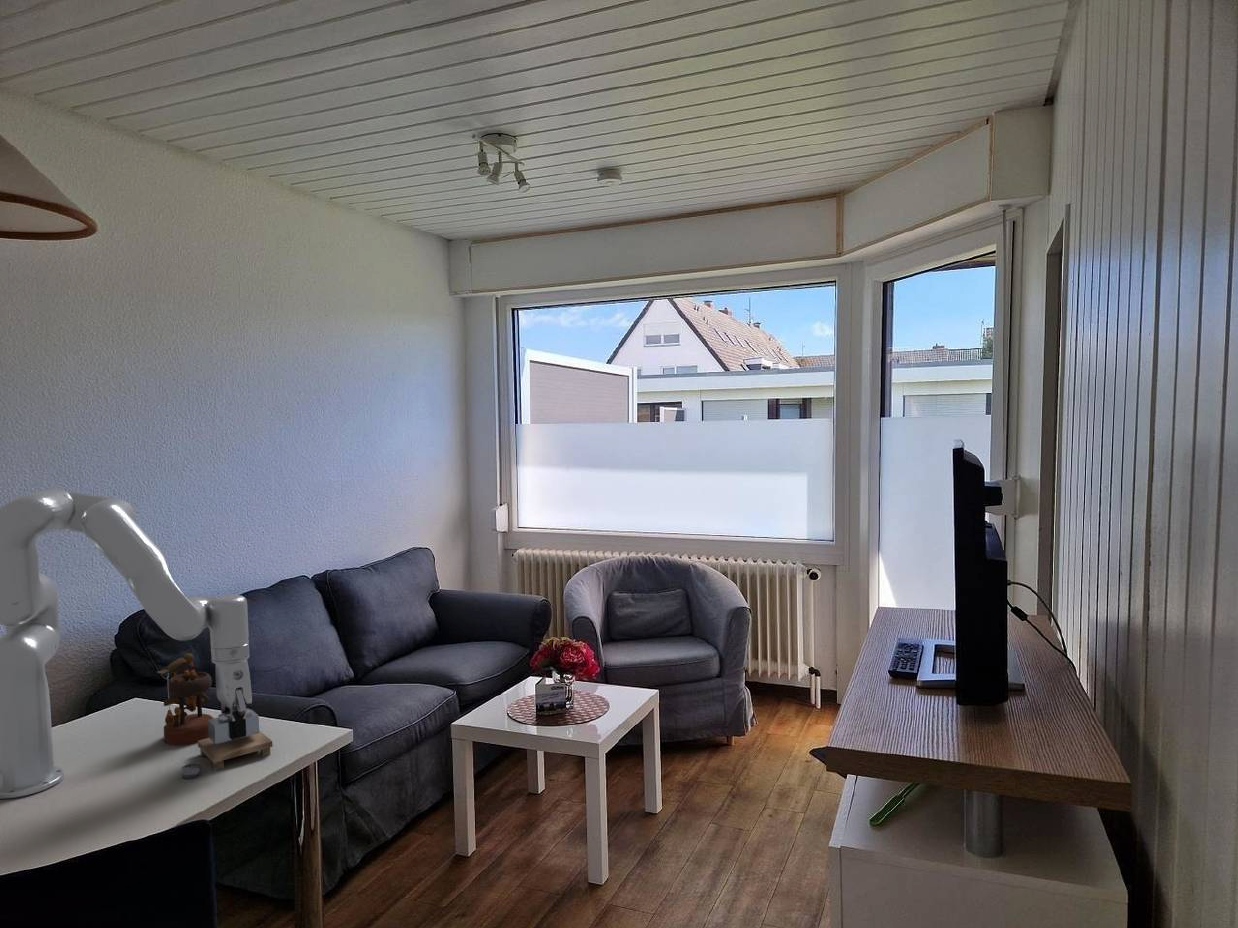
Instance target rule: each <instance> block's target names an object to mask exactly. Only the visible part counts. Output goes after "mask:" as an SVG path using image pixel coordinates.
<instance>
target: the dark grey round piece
mask: <svg viewBox="0 0 1238 928" xmlns="http://www.w3.org/2000/svg"><path fill="white" fill-rule="evenodd" d="M180 771H181V779H182V780H186V781H187V780H194V779H197V778H199V777H201V776H202V764H201V763H200V762H199V763H197V762H194V763H189V764H186V765H184V766H183V767H181V770H180Z"/></svg>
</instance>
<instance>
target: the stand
mask: <svg viewBox="0 0 1238 928" xmlns="http://www.w3.org/2000/svg"><path fill="white" fill-rule="evenodd" d="M197 747H198V749H199V750H200V755H201V756H202V757H207V758H208V759H209V761H211V763H212V768H213V770H215V771H217V770H220V769H224V767H225V766H224V761H226V760H229V759H233V758H236V757H240V756H243V755H247V754H251V753H255V752H258V751H259V753H260V756H262V757H266V756H271V748H272V747H273V740H272V739H270V738H269V737H268V736H266V735H265V733H263V732H262V731H261V730H259V733H257V734H253V735H250V736H246V737H242V738H238V739H234V740H230V741H227V742H223V743H219V744H215V743H214V742H213V741H212V740H211V739H210V738H207V739H203V740H199V741H198V742H197Z"/></svg>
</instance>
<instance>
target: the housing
mask: <svg viewBox="0 0 1238 928" xmlns="http://www.w3.org/2000/svg"><path fill="white" fill-rule="evenodd" d="M234 714H235V713H234ZM245 714H246V736H250V735H253V734H257V733H259V731H260V716H259V714H258V713H256V712H255V711H254V710H253V709H249V708H246V713H245ZM217 716H218V717H213V719H209V720H208V730H209V738H210V739H211V740H212V741H213V742H214V743H215V744H219V743H223V742H227V741H230V740H232V739H230V725H229V721H231V716H230V712H227V713H220V714H219V715H217ZM246 736H245V737H246ZM241 738H242V737H241ZM237 739H238V738H237ZM233 740H234V739H233Z"/></svg>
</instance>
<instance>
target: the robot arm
mask: <svg viewBox="0 0 1238 928" xmlns="http://www.w3.org/2000/svg"><path fill="white" fill-rule="evenodd" d="M136 521H137V514H136V511H135V509H134V508H133V506H132V505H131V504H130V503H129V502H127V501H125V500H124V499H121V498H116V497H109V496H102V495H97V494H96V495H95V494H90V493H83V492H77V491H71V490H63V489H57V488H56V489H55V488H54V489H44V490H40V491H35V492H31V493H27V494H24V495H22V496H19V497H17V498H14V499H12V500H11V501H8V502H6V503H5V504H4V505H2V506H0V626H3V627H4V626H5V634H4V635H2V636H1V637H0V799H5V800H6V799H13V798H20V797H25V796H29V795H33V794H37V793H39V792H42V791H45V790H47V789H49V788H52V787H53V786H55V785H57V784H59V783H60V782H61V781H62V780H63V779H64V769H63V768H61V767H58V766H55V765H54V762H55V761H54V747H53V746H54V744H53V728H52V714H51V699H50V698H51V697H50V688H49V682H48V679H47V673H46V667H45V666H46V664H47V663H48V662H49V661H50V660H51V659H53V657H54V656H55V654H57V651H58V649H59V647H60V642H61V641H60V640H61V632H60V630H61V629H60V618H59V617H60V615H59V604H58V603H59V601H58V592H57V589H56V586H55V583H54V582H53V580H51V579H50V577H48V576H47V575H46V574H44V573H41V572H40V571H39V555H38V549H37V546H36V540H37V538H38V537H40V536H42V535H44V534H48V533H51V532H54V531H56V530H59V531H60V530H61V531H68V532H76V533H83V534H84V535H85V536H86V538H87V539H88V540H89V541H90V542H91V543H92V544H93V545H94V546H95V548H96V549H97V550H98V551H99V552H100V553H101V554H102V555H103V556H104V558H106V559H107V561H109V563H110V564H111V565H112V566H113V567H114V568H115V569H116V571H117V572H118V573H119V574H120V575H121V576H122V577H123V579H124V580H125V582H126V583H127V585H128V587H129V589H130V590H131V592H132V593H133V595H134V596H135V598H136V599H137V601H138V602H139V604H140V606H141V607H142V608H143V609H144V611H145V612H146V613H147V614H148V616H149V617H150V618H151V619H152V621H153V622H155V624H157V626H158V627H159V628H160V629H161V630H162V631H163V632H164V633H165V634H166V635H167V636H169V637H170V638H172V639H174V640H177V641H183V642H184V641H185V642H186V641H190V640H194V639H195V638H197V637H198V636H199V635H200V634H201V633H202V632H203V630H204V629H207V628H208V629H209V633H210V635H209V636H210V654H211V656H210V658H211V663H212V664H215V691H216V698H217V700H218V701H219V702H220V703H221V704H220V711H221V712H220V714H222V713H227V712H230V716H231V721H229V725H230V739H232V740H233V739H237V738H241V737H245V736H246V714H245V713H246V709H247V707H246V705H250V704H252V702H253V697H252V695H253V694H252V685H251V684H252V683H251V675H250V674H251V673H250V669H249V662H248V659H249V658H250V641H249V639H250V638H249V637H250V634H249V618H248V616H249V615H248V601H247V598H246V597H245V596H243V595H241V594H226V595H225V594H224V595H220V596H197V595H196V596H195V595H194V596H191V595H190V596H186V595H185V594H184V593H183V591H181V589H180V587H179V586H178V585H177V584H176V582H175V581H174V579H173V577H172V575H171V573H170V571H169V567H168V563H167V560H166V557H165V555H164V553H163V551H162V550H161V549H160V548H159V547H158V546H157V544H155V542H154V541H153V540H152V539H151V538H150V537H149V535H148V534H147V533H146V532H145V531H144V530H143V529H142V528H141V526H140V525H139V524H138V523H137V522H136ZM236 709H237V710H236ZM234 713H235V714H234Z"/></svg>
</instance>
